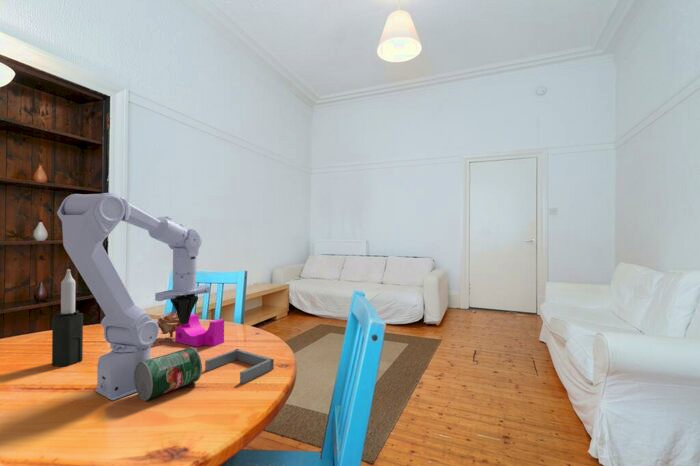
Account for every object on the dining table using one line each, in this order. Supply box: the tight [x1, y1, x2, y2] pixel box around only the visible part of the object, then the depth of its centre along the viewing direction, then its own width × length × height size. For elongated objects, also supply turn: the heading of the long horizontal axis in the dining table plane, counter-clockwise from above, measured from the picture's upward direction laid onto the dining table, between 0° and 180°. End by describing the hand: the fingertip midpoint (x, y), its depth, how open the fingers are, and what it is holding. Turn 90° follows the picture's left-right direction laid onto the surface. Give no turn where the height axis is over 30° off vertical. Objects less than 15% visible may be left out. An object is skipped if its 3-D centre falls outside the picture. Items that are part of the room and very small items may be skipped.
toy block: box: [175, 313, 225, 348], centre depth 106 cm, size 15×6×8 cm, turn 63°
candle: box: [51, 268, 84, 368], centre depth 88 cm, size 5×5×25 cm
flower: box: [156, 311, 183, 338], centre depth 110 cm, size 10×9×8 cm
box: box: [204, 348, 275, 384], centre depth 85 cm, size 10×14×2 cm
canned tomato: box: [134, 346, 203, 401], centre depth 74 cm, size 8×8×11 cm
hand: (184, 323), depth 90 cm, fingers closed
